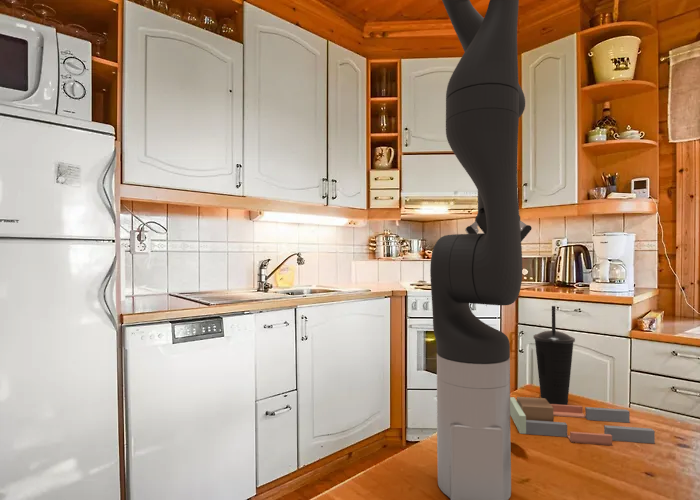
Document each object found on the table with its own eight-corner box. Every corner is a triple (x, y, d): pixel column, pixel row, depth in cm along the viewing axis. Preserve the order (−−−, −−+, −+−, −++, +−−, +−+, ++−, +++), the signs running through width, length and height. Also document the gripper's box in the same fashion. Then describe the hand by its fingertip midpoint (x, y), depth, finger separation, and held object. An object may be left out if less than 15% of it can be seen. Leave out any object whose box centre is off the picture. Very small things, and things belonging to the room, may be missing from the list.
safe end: (526, 433, 70) (525, 416, 70) (519, 433, 70) (519, 415, 70) (514, 413, 79) (514, 397, 79) (509, 412, 79) (509, 397, 79)
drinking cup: (575, 413, 78) (574, 309, 79) (531, 406, 82) (531, 306, 83) (576, 401, 85) (575, 305, 85) (536, 394, 89) (535, 303, 89)
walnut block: (553, 431, 71) (553, 408, 71) (523, 429, 72) (522, 406, 72) (545, 419, 76) (545, 398, 76) (516, 418, 77) (516, 396, 77)
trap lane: (661, 449, 64) (661, 436, 64) (528, 439, 68) (528, 426, 68) (621, 416, 77) (621, 405, 77) (512, 409, 81) (512, 399, 81)
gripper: (464, 184, 80) (465, 273, 80) (537, 182, 77) (538, 273, 77) (461, 190, 87) (462, 271, 87) (527, 188, 85) (528, 272, 84)
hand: (497, 272), depth 82 cm, fingers closed
